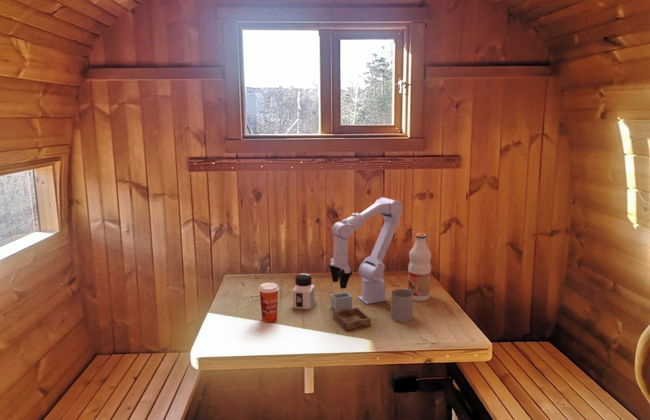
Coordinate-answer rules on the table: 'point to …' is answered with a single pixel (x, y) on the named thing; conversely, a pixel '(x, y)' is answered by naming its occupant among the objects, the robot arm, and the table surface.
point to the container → (303, 292)
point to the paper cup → (269, 301)
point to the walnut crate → (351, 319)
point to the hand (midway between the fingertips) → (339, 284)
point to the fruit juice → (419, 269)
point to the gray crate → (341, 301)
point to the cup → (401, 305)
